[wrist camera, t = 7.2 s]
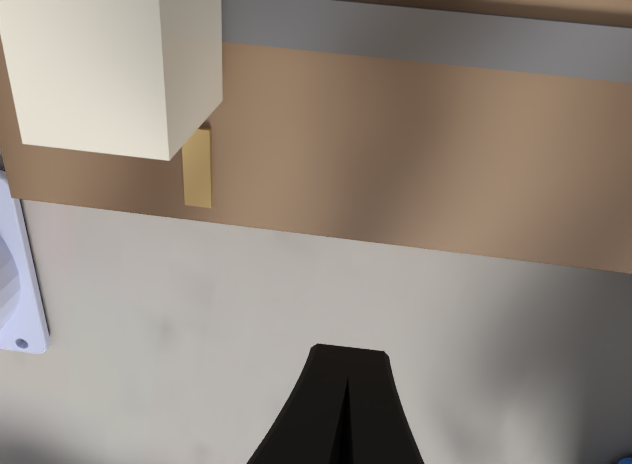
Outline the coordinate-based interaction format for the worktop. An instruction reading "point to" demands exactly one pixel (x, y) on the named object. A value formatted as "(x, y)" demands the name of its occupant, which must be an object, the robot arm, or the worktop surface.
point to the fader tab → (113, 72)
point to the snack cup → (625, 461)
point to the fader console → (392, 130)
